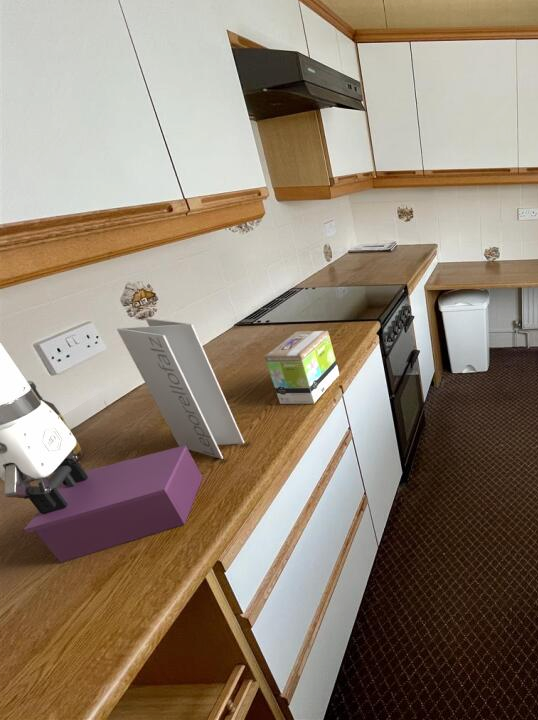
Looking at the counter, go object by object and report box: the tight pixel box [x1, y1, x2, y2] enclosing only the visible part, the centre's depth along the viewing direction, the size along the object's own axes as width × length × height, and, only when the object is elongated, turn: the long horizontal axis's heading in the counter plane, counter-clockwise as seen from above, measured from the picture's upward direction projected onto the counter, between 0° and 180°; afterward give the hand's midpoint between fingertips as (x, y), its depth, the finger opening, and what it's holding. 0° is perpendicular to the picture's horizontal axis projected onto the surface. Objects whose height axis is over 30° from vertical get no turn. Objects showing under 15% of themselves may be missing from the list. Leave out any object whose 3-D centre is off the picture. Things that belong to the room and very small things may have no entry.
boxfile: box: [34, 449, 203, 564], centre depth 74 cm, size 18×13×8 cm
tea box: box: [264, 330, 340, 405], centre depth 110 cm, size 15×10×15 cm
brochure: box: [116, 317, 245, 460], centre depth 87 cm, size 14×6×30 cm, turn 70°
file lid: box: [23, 445, 187, 534], centre depth 71 cm, size 18×13×5 cm
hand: (66, 494), depth 70 cm, fingers open, 6 cm apart
